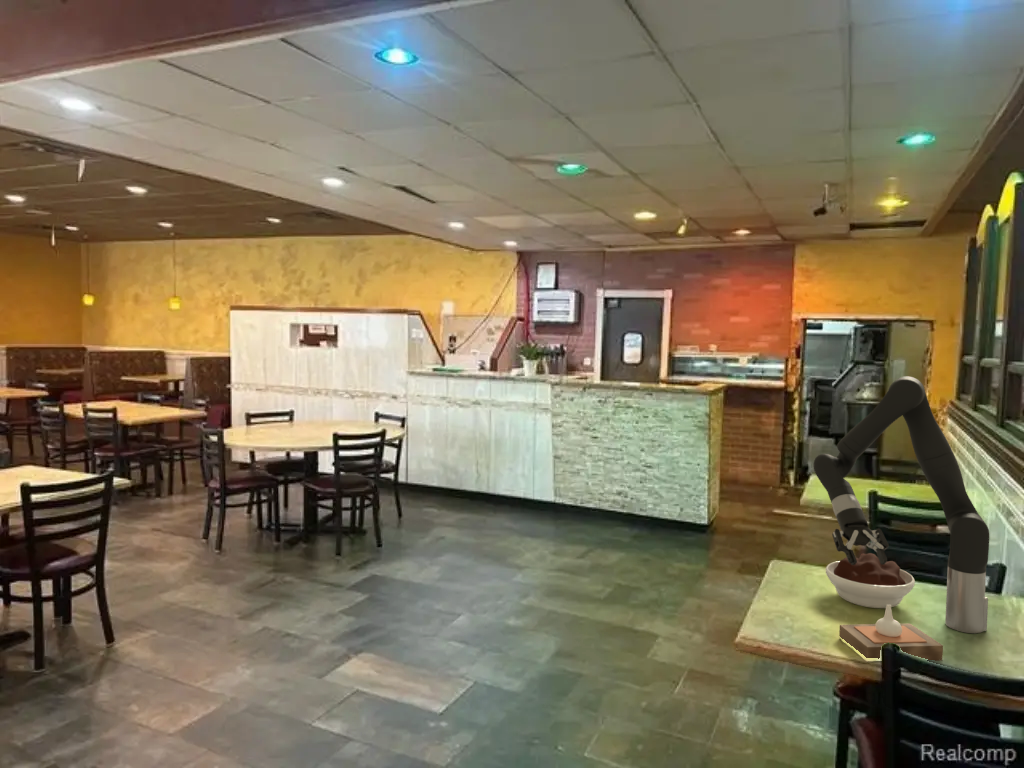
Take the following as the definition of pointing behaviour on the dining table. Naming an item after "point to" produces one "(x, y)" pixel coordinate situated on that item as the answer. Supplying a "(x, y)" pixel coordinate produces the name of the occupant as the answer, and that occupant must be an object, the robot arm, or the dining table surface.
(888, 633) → the garlic bulb
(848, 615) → the dining table surface
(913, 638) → the mat
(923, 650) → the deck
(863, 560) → the bowl of brown food
